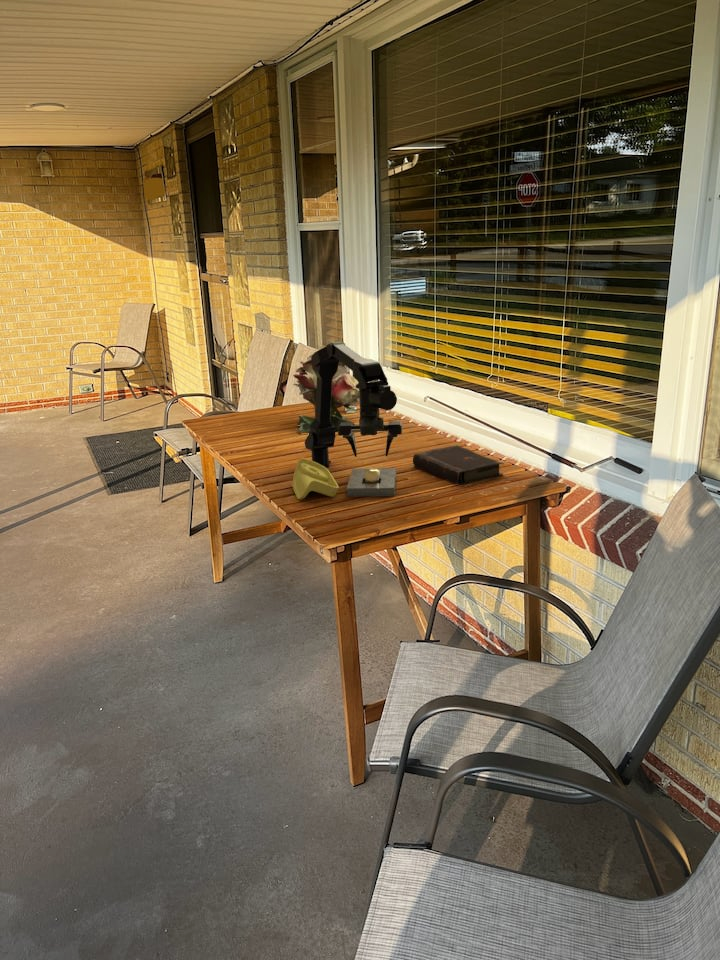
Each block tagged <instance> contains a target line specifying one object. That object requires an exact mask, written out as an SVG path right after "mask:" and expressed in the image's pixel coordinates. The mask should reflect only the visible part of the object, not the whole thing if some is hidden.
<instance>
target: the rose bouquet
mask: <svg viewBox="0 0 720 960" xmlns="http://www.w3.org/2000/svg"><path fill="white" fill-rule="evenodd" d="M312 355H313V354H311V355H309V356H307V357H306V358H305V361H302V360H300V361H299V363H300V364H301V365H302V366H300V367H299V368H297V369H296V370H295V373H299V374H293V378H295V379H296V383H293V386H295V387H297V388H298V389H299V391H300V392H299V393H298V394H299V396H303V397H302V399H304V400H305V401H307V402H309V403H310V404H311V405H313V406H314V414H315V413H316V388H317V376H316V374H315V373H314V371H313V369H312V362H311V358H312ZM358 383H359V382H358V381H357V380H356V379H355V378H354V377H353V375H352V374H351V373H342V374H340V375H338V376H337V377H336V378H334V377H333V378H332V393H331V413H330V421H331V423H332V424H333V426H335V428H336V431H335V432H338V426H339V424H340V423H341V422H352V423H353V425H355V423H354V422H353V421H351V420H349V419H348V418H347V417H346V416H344V415H342V414H341V412H340V411H339V410H338V409H340V408H342V407H346V408H348V409H349V410H350V409H352V408H350V407H349V406H350V405H352V406H356V407H357V406H358V405H360V401H358V398H359V389H358V388H356V385H357V384H358ZM353 410H354V409H353ZM354 411H355V410H354ZM355 412H356V411H355ZM298 419H299V420H298V422H297V423H296V426H297V425H300V426H299V428H298V429H297V428H296V429H295V430H296V431H297V432H298V433H299V434H300V433H309V431H310V426H311V424H312V423H313V421H314V420H315V416H314V417H312V416H307V415H303V414H300V415H298Z"/></svg>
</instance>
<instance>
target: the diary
mask: <svg viewBox="0 0 720 960" xmlns="http://www.w3.org/2000/svg"><path fill="white" fill-rule="evenodd" d="M412 463H413V464H412V465H414V467H415V468H418V469H420V470H422V471H425V472H428V473H429V474H432V475H433V476H436V477H438V478H441V479H443V480H445V481H449V482H450V483H453V484H455V485H456V486H458V487H459V486H463V485H468V484H472V483H478V482H482V481H487V480H492V479H495V478H498V477H502V476H503V475H504V473H501V472H500V465H504V463H503V462H500V461H498V460H495V459H492V458H490V457H487V456H484V455H481V454H479V453H476V452H474V451H472V450H471V449H468V448H465V447H463V446H460V445H450V446H445V447H438V448H434V449H430V450H425V451H423V452H418V453H414V455H413V456H412Z"/></svg>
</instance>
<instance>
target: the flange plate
mask: <svg viewBox="0 0 720 960" xmlns="http://www.w3.org/2000/svg"><path fill="white" fill-rule="evenodd" d="M375 468H376V467H375ZM365 469H366V468H352V469H351V472H350V475H349V479H348V482H347V485H346V497H394V496H395V495H394V494H396V485H397V483H396V482H397V468H396V467H393V468H392V467H388V468H381V467H380V468H376V469H378V483H379V484H365Z"/></svg>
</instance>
